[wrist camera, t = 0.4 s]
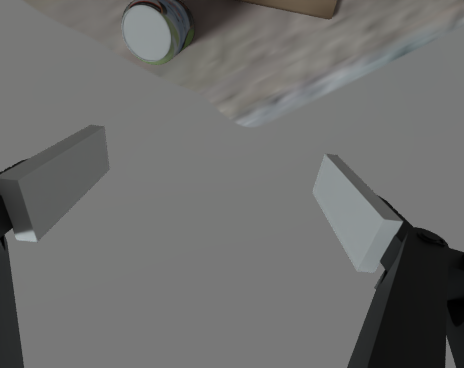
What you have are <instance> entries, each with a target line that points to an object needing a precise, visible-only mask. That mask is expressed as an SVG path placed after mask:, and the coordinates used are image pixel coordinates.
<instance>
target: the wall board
mask: <svg viewBox="0 0 464 368" xmlns="http://www.w3.org/2000/svg"><path fill="white" fill-rule="evenodd" d="M237 1H242V2H247V3H251V4H256V5H261V6H266V7H271V8H276V9H281V10H285V11H290V12H295V13H300V14H305V15H310V16H314V17H319V18H324V19H332V16H333V12H334V9H335V6H336V2H337V0H237Z"/></svg>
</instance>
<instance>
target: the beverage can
mask: <svg viewBox="0 0 464 368" xmlns="http://www.w3.org/2000/svg"><path fill="white" fill-rule="evenodd" d="M122 34H123V38H124V41H125V43H126V45H127V47H128V48H129V50H130V51H131V52H132V53H133V54H134V55H135V56H136V57H137V58H139V59H140V60H142V61H144V62H146V63H149V64H153V65H159V64H164V63H166V62H168V61H170V60H171V59H172V58H173V57H175V56H176V55H177V54H178V53H180V52H181V51H182V50H183V49H185V48H186V47H187V46H188V45H189V44H190V42H191V41H192V39H193V36H194V20H193V17H192V15H191V13H190V11H189V9H188V8H187V7H186V6H185V5H184V4H183V3H182V2H181V1H179V0H134V1H132V2H131V3H130V4H129V5H128V6H127V7H126V9H125V11H124V13H123V16H122Z"/></svg>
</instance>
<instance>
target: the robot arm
mask: <svg viewBox="0 0 464 368" xmlns="http://www.w3.org/2000/svg"><path fill="white" fill-rule="evenodd" d="M108 170H109V161H108V153H107V145H106V136H105V128H104V126H96V125H89V126H88V127H86V128H84V129H82V130H80V131H79V132H77V133H75V134H73V135H71V136H69V137H68V138H66V139H64V140H62V141H60V142H58V143H57V144H55V145H53V146H51V147H50V148H48V149H46V150H44V151H42V152H41V153H38V154H37V155H35V156H33V157H31V158H29V159H26V160H22V161H20V162H18V163H17V164H14V165H13V166H12V167H9V168H7V169H5V170H4V171H2V172H0V368H24V365H23V357H22V349H21V341H20V334H19V327H18V319H17V312H16V304H15V297H14V289H13V282H12V276H11V275H12V274H11V267H10V260H9V253H8V245H7V241H6V238H5V234H6V233H7V232H8V231H9V230H11V229H12V228H13V231H14V233H15V236H16V239H17V240H23V241H33V242H38V241H39V240H40V239H41V238H42V237H43V236H44V235H45V234H46V233H47V232H48V231H49V229H51V228H52V227H53V226H54V225H55V224H56V223H57V222H58V221H59V220H60V219H61V218H62V217H63V216H64V215H65V214H66V213H67V212H68V211H69V209H71V208H72V207H73V206H74V205H75V204H76V202H77V201H79V200H80V198H81V197H83V195H85V194H86V193H87V191H88V190H90V189H91V188H92V187H93V186H94V185H95V184H96V183H97V182H98V181H99V180H100V178H101V177H103V176H104V174H105V173H107V171H108ZM312 193H313V194H314V196H315V198H316V200H317V202H318V203H319V205H320V207H321V208H322V210H323V212H324V214H325V216H326V217H327V219H328V221H329V223H330V224H331V226H332V228H333V230H334V231H335V233H336V235H337V237H338V238H339V240H340V242H341V244H342V246H343V247H344V249H345V251H346V253H347V254H348V256H349V258H350V260H351V261H352V263H353V265H354V267H355V268H356V270H357V271H361V272H372V273H374V272H375V270H376V268H377V267H378V265H379V263H380V262H381V264H382V265H383V266H384V268H385V271H384V272H383V274H382V276H381V277H380V279H379V281H378V282H377V284H376V286H375V289H376V292H375V294H374V297H373V300H372V303H371V305H370V308H369V310H368V313H367V316H366V318H365V321H364V324H363V327H362V329H361V332H360V334H359V337H358V340H357V343H356V345H355V348H354V351H353V353H352V356H351V359H350V361H349V364H348V367H347V368H445V356H446V335H447V339H448V342H449V345H450V348H451V352H452V355H453V358H454V362H455V365H456V368H464V252H461V251H458V250H454V249H451V248H449V247H448V244H447V243H446V242H445V240H444V239H442V238H441V237H439V236H438V235H437V234H435V233H432V232H430V231H428V230H425V229H422V228H417V227H413V226H412V225H411V224H410V223H409V222H408V221H407V220H406V219H405V218H404V217H403V216H402V215H400V214H399V213H398V212H397V211H396V210H395V209H394V208H393V207H392V206H391V205H390V204H389V203H388V202H387V201H386V200H384V199H383V198H381V197H380V196H378V195H376V194H375V193H374V192H373V191H372V190H371V189H370V188H369V187H368V186H367V185H366V184H365V183H364V182H363V181H362V180H361V179H360V178H359V177H358V176H357V175H356V174H355V173H354V172H353V171H352V170H351V169H350V168H349V167H348V166H347V165H346V164H345V163H344V162H343V161H342V160H341V159H340V158H339V157H338V156H337V155H331V154H325V155H324V158H323V161H322V164H321V167H320V171H319V174H318V176H317V180H316V183H315V186H314V189H313V192H312Z"/></svg>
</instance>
